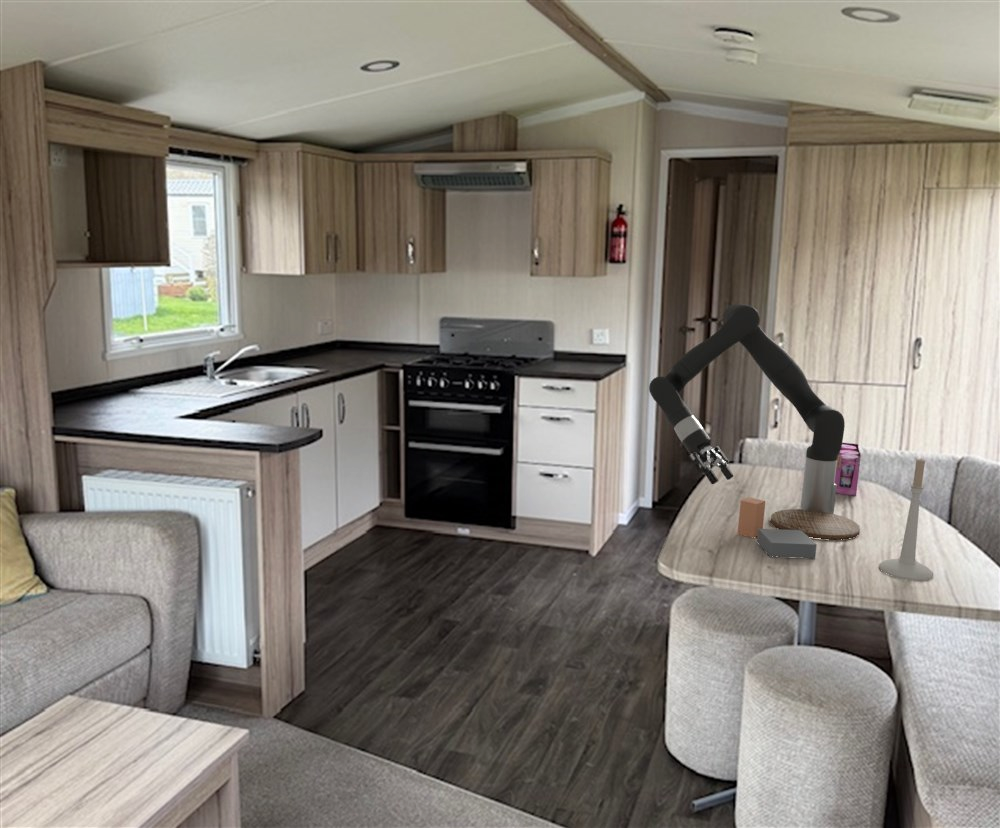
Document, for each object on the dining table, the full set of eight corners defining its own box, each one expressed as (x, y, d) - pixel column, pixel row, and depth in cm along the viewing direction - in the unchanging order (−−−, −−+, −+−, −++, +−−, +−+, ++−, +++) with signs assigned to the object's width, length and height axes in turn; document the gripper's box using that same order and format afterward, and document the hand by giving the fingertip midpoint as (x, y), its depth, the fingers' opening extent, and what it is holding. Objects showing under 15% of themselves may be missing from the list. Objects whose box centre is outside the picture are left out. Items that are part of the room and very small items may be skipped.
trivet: (866, 545, 254) (867, 539, 253) (774, 536, 258) (774, 529, 258) (851, 519, 278) (851, 513, 277) (766, 511, 283) (767, 505, 282)
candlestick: (887, 559, 242) (901, 449, 236) (939, 571, 234) (955, 458, 228) (872, 571, 232) (886, 457, 226) (925, 584, 224) (941, 467, 218)
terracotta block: (746, 530, 261) (749, 497, 259) (762, 534, 258) (765, 501, 256) (737, 534, 258) (740, 500, 256) (753, 538, 254) (756, 504, 252)
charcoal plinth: (799, 544, 251) (801, 530, 250) (815, 558, 239) (816, 544, 239) (756, 542, 251) (758, 528, 250) (769, 557, 239) (771, 542, 238)
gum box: (856, 497, 303) (861, 457, 301) (831, 494, 306) (836, 455, 303) (854, 480, 326) (858, 443, 323) (831, 478, 328) (835, 441, 326)
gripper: (687, 430, 260) (719, 477, 254) (713, 424, 270) (744, 469, 265) (670, 445, 265) (701, 491, 259) (696, 438, 275) (726, 483, 269)
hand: (723, 480), depth 262 cm, fingers open, 8 cm apart
